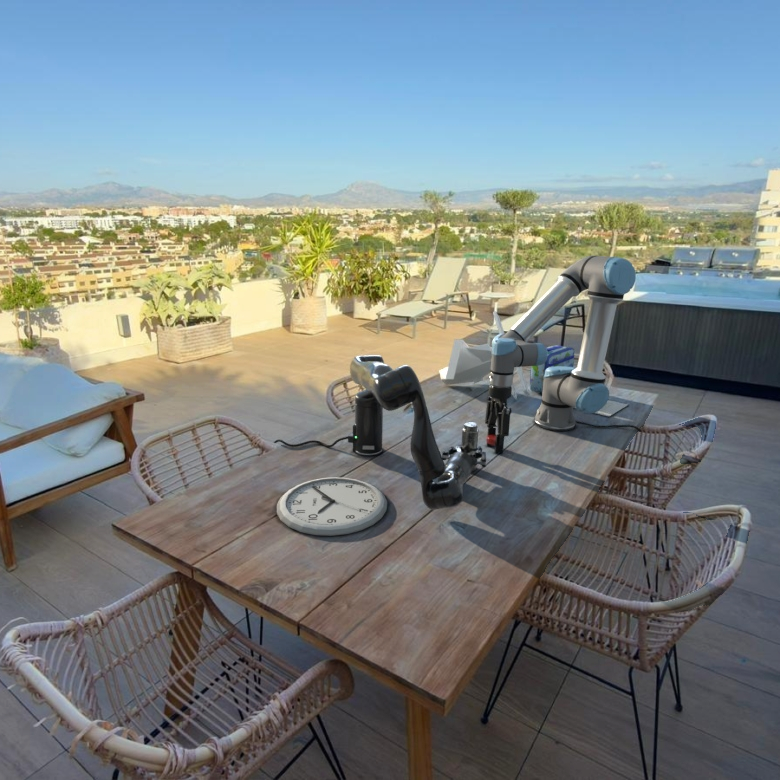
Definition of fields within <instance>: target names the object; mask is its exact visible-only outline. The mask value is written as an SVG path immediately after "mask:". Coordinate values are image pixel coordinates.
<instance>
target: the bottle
mask: <svg viewBox="0 0 780 780" xmlns="http://www.w3.org/2000/svg"><path fill="white" fill-rule="evenodd" d="M461 443H462V445H461V452H465V453H470V452H472V451H476V450H477V448H478V446H479V445H478V443H479V428H478V423H476V422H472V421H471V422H470V421H468V422H464V424H463V428H462V432H461ZM476 469H477V465H476V466H474V468H473V470H472V472H475V471H476Z"/></svg>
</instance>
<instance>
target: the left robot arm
mask: <svg viewBox="0 0 780 780" xmlns="http://www.w3.org/2000/svg"><path fill="white" fill-rule="evenodd" d="M349 374H350V378H351V379H352V381H353V383H354V384H356V385H360V386H362V387H363V388H364V389H363V390H361V391H359V392H357V393H356V394H355V396H354V423H353V425H352V431H351V433H350V434H348V435H347V436H344V437H340V438H337V439H336V440H335V441H333V443H331V444H325V443H324V442H322V441H321V440H315V439H313V440H306V441H304V442H303V441H302V442H300V443H295V444H293V443H292V444H291V443H288V442H286V441H284V440H282V439H276V440H275V441H273V443H274V444H277V443H281V444H283V445H285V446H287V447H290V448H294V447H295V448H297V447H302V446H304V445H307V444H313V443H316V444H319V445H321V446H323V447H326V448H333V447H334V446H335V445H337V443H339V442H341V441H344V440H347V443H349V444H350V443H351V444H352V452H353V453H356V454H357V455H360V456H363V457H374V456H378V455H380V454H381V453H382V452H383V429H384V428H383V425H384V424H383V423H384V421H383V420H384V419H383V417H384V410H386V411H388V412H392V411H396V410H398V409H400V408H403V407H406V406H407V405H409V404H410V403H411V402H412V404H411V405H412V408H413V426H412V431H411V437H410V453H411V457H412V460H413V462H414V464H415V467H416V469H417V471H418V475H419V480H420V484H421V496H422V501H423V503H424V505H425V507H426V508H428V509H430V510H432V511H434V510H443V509H449V508H455V507H458V506H459V505H460V504H461V503H462V502H463V499H464V493H463V492H464V491H463V486H464V485H465V483H466V482H467V481H468V479H469V477H470V476H471V474H472V472H473V471H472V470H473V468H474V466H476V467H477V465H480V466H481V467H482V468H486V467H487V453H486V451H483V447H482V446H481V445H477V450H476V451H472V452H470V453H465V452H461V445H462V442H461V443H459V444H458V445H457V446H455V447H454V446H452V445H451V446H449V447H448V448H446V449H445V450H443V451H442V452H441V450H440V448H439V446H438V443H437V440H436V438H435V434H434V430H433V427H432V426H433V425H432V422H431V418H430V414H429V411H428V406H427V403H426V399H425V395H424V391H423V388H422V385H421V383H420V382H421V381H420V379H419V378H418V375H417V374H416V372H415V370H414V369H413V368H412V367H411V366H410V365H408V364H403V365H401V366H398V367H396V368H394V369H393V368H392V367H391V366H390V365H388V364H386V363H385V360H384V358H383V356H382V355H381V354H371V355H369V354H368V355H367V354H366V355H356V356H354V357H353V358H352V359H351V361H350V364H349ZM446 460H447V461H446ZM445 461H446V462H445ZM436 479H437V481H434V480H436Z"/></svg>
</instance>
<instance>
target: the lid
mask: <svg viewBox="0 0 780 780" xmlns="http://www.w3.org/2000/svg"><path fill="white" fill-rule="evenodd" d="M497 434H498V433H496V434H490V435H488V436H486V444H487V443H488V444H490V445H494V446H495V442H496V435H497Z"/></svg>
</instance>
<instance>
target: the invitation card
mask: <svg viewBox="0 0 780 780" xmlns="http://www.w3.org/2000/svg"><path fill="white" fill-rule="evenodd" d="M628 406H629V404H627V403H623V402H618V401H614V400H609V399H608V401H607V403H606V404H605V406H604V407H603V408H601V409H600V410H599V411H598V412H595V413H594V414H596V415H600V416H604V417H608V418H609V417H611V416H613V415H614V414H616V413H617V412H619V411H621V410H623V409H624V408H626V407H628Z"/></svg>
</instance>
